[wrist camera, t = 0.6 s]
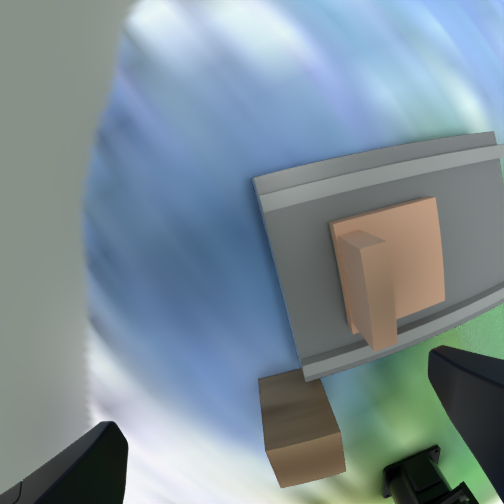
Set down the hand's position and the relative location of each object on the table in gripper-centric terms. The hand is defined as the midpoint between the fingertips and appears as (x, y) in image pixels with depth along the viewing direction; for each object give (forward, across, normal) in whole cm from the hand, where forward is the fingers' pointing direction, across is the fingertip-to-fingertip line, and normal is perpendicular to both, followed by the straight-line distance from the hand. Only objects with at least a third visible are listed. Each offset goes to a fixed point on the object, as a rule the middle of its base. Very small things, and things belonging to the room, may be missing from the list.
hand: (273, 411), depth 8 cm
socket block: (+12, -9, 0) cm, 15 cm away
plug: (+12, -1, +9) cm, 15 cm away
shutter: (+9, -7, 0) cm, 12 cm away
